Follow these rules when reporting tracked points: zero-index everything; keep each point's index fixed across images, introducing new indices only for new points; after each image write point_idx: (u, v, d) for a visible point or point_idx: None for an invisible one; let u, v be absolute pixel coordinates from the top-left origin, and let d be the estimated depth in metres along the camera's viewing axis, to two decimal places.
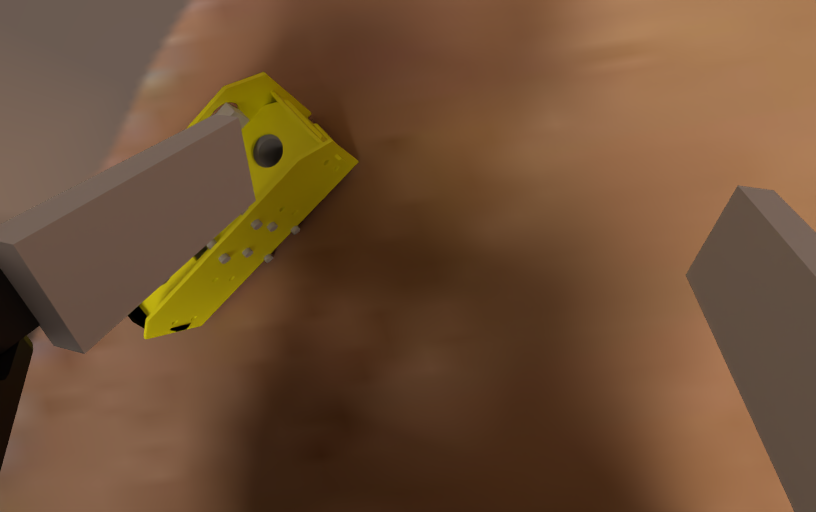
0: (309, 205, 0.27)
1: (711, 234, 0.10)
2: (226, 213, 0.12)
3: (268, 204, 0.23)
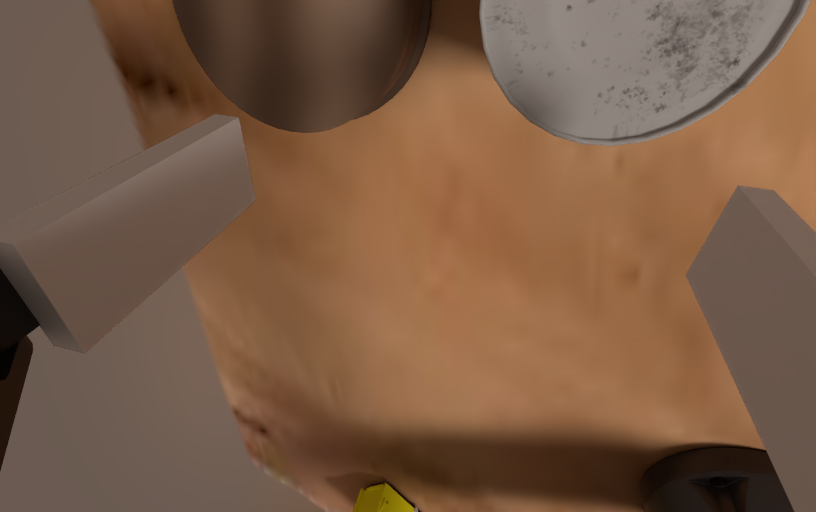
0: (403, 507, 0.56)
1: (711, 234, 0.10)
2: (226, 213, 0.12)
3: None
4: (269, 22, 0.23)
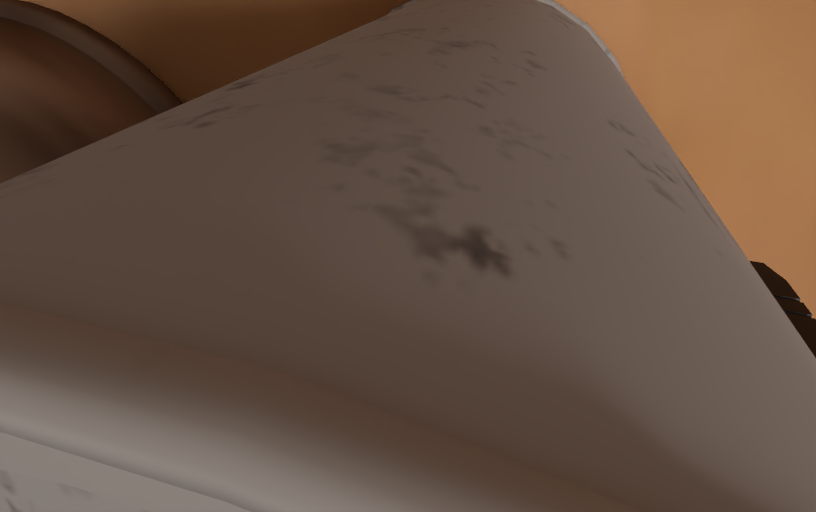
0: None
1: None
2: None
3: None
4: None
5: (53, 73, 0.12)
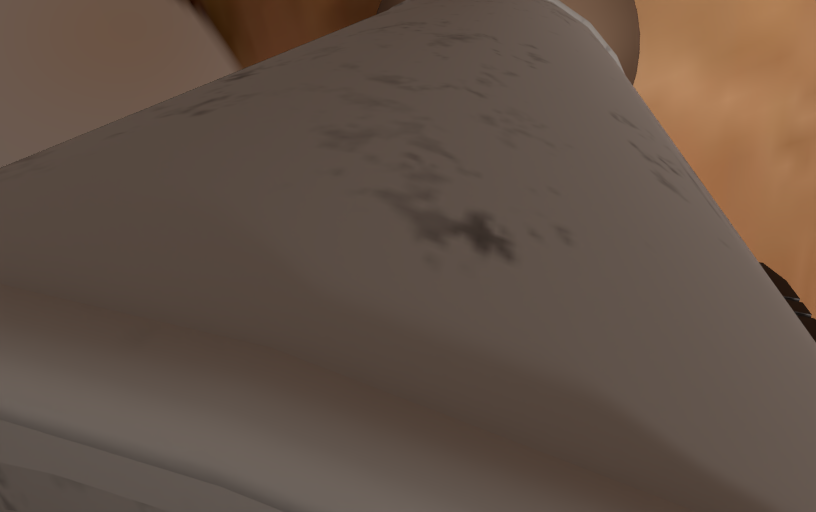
0: None
1: None
2: None
3: None
4: None
5: None
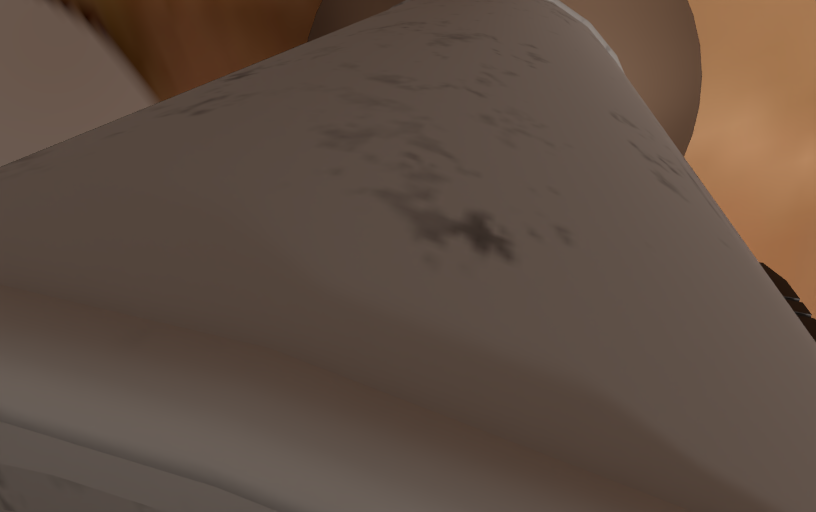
0: None
1: None
2: None
3: None
4: None
5: None
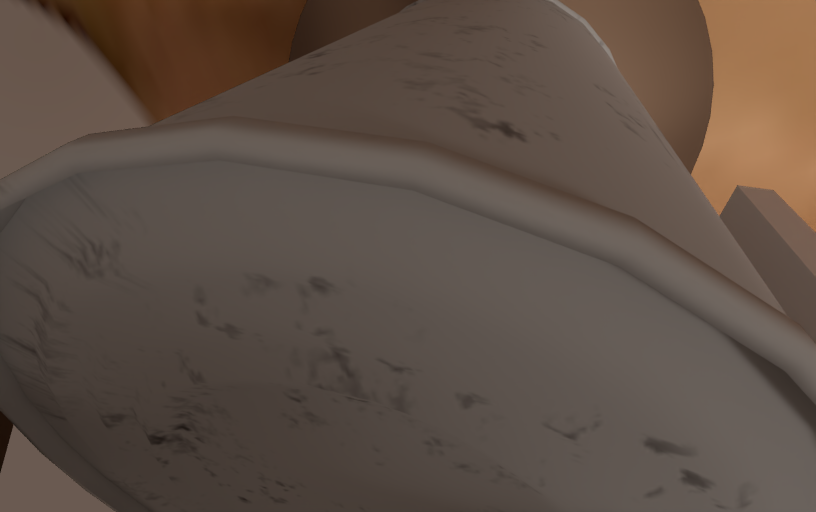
0: None
1: None
2: None
3: None
4: None
5: None
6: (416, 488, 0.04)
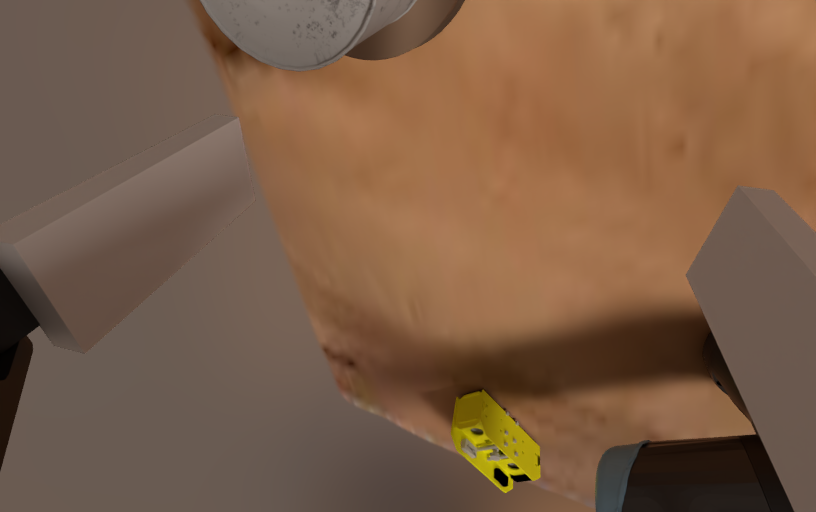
0: (498, 411, 0.61)
1: (711, 234, 0.10)
2: (226, 213, 0.12)
3: (499, 441, 0.58)
4: None
5: None
6: None
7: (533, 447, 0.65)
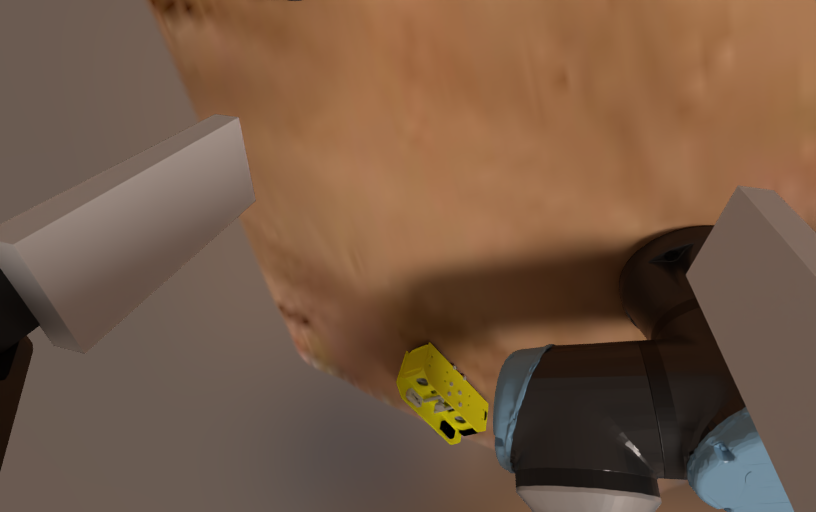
0: (445, 364, 0.64)
1: (711, 234, 0.10)
2: (226, 213, 0.12)
3: (442, 390, 0.61)
4: None
5: None
6: None
7: (481, 403, 0.67)
